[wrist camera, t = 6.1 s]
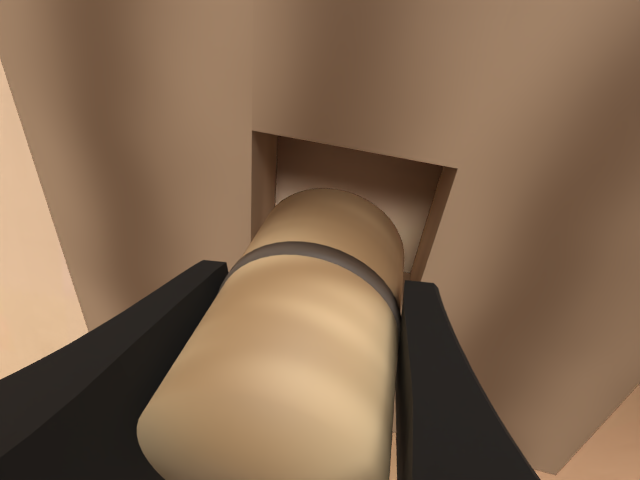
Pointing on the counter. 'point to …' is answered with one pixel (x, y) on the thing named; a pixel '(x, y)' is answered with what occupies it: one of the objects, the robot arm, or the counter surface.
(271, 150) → the hole board
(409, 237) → the counter surface
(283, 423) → the oak peg
